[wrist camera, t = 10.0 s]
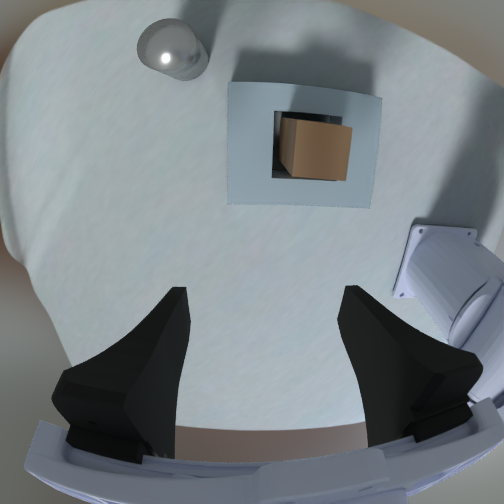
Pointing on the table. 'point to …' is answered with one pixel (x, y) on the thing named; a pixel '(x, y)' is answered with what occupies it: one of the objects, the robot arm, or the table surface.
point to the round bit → (172, 49)
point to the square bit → (314, 148)
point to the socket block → (261, 145)
